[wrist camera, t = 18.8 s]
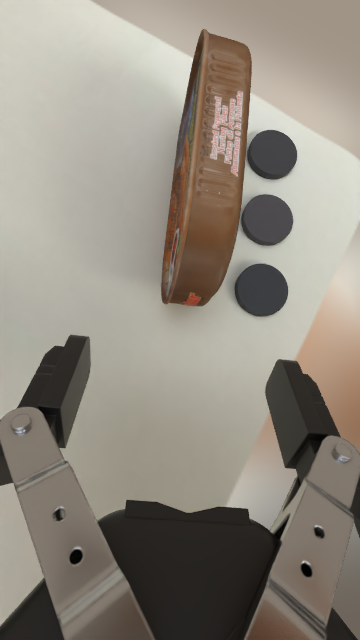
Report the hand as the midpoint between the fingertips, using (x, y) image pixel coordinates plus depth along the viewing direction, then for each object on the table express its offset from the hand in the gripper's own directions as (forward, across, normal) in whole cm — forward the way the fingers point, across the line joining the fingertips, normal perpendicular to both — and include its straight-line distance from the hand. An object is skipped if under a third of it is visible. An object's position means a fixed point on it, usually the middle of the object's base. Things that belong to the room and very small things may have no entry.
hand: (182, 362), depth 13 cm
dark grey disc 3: (+9, -6, +1) cm, 11 cm away
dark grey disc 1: (+16, -6, -6) cm, 19 cm away
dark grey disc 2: (+13, -6, -2) cm, 14 cm away
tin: (+13, 0, -2) cm, 13 cm away
